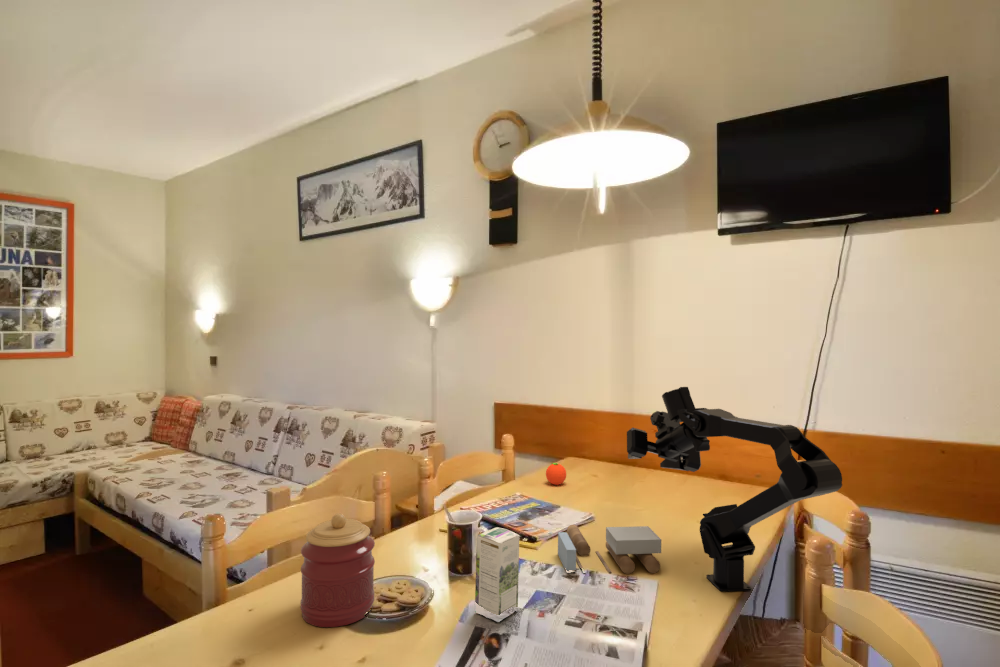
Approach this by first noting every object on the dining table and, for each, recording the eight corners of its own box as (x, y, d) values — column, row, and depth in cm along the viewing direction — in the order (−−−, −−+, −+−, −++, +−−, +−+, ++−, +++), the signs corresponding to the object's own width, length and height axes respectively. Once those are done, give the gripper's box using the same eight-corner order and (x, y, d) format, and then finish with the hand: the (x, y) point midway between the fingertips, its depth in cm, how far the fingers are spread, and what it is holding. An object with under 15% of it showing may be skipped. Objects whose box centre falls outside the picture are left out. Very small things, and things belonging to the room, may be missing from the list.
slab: (661, 553, 118) (661, 539, 118) (616, 554, 117) (616, 540, 117) (648, 539, 125) (648, 526, 125) (605, 540, 125) (606, 527, 125)
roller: (590, 555, 124) (590, 542, 124) (578, 557, 124) (577, 544, 124) (579, 535, 136) (578, 524, 136) (567, 537, 136) (566, 525, 136)
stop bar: (575, 573, 115) (576, 549, 115) (566, 573, 115) (566, 549, 115) (566, 553, 125) (566, 532, 125) (557, 554, 125) (558, 532, 125)
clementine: (541, 481, 185) (541, 460, 185) (560, 480, 187) (560, 459, 187) (550, 488, 178) (550, 466, 178) (569, 486, 180) (570, 465, 180)
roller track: (660, 572, 115) (660, 558, 115) (583, 575, 114) (583, 560, 114) (640, 550, 127) (641, 537, 127) (571, 551, 126) (571, 539, 126)
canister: (380, 592, 106) (380, 502, 106) (366, 629, 93) (366, 526, 93) (313, 593, 106) (313, 502, 105) (289, 629, 93) (290, 526, 92)
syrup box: (494, 601, 103) (495, 525, 103) (519, 612, 99) (519, 532, 99) (474, 613, 98) (474, 534, 98) (499, 625, 95) (500, 542, 94)
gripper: (713, 417, 130) (675, 440, 142) (644, 397, 126) (611, 422, 138) (718, 461, 123) (677, 481, 136) (646, 441, 120) (611, 463, 132)
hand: (644, 461), depth 136 cm, fingers open, 9 cm apart
